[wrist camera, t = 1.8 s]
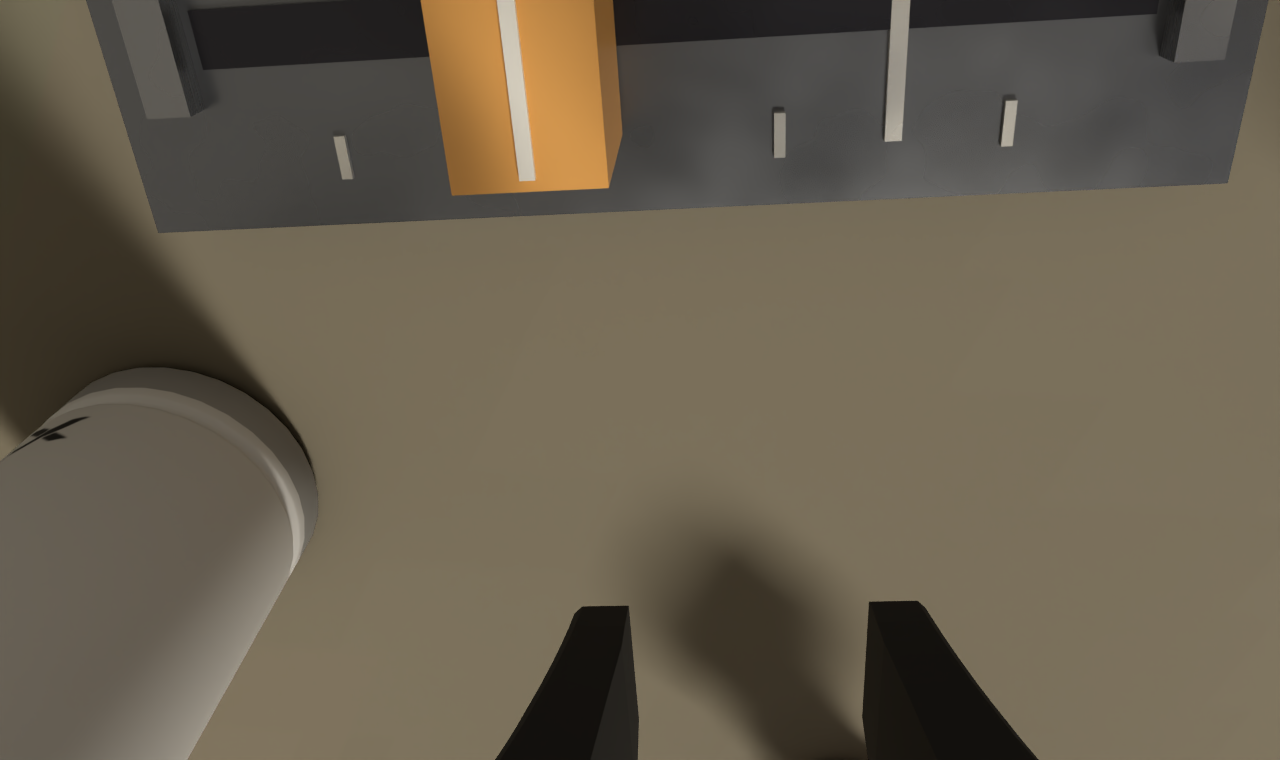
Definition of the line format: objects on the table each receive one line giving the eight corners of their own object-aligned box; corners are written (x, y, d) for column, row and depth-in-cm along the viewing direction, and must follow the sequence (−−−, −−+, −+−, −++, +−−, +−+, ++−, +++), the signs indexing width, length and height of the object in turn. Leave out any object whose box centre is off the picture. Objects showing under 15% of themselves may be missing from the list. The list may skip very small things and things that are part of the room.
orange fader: (604, -117, 16) (583, -109, 13) (622, 133, 18) (607, 189, 15) (456, -106, 16) (403, -96, 13) (490, 140, 18) (450, 197, 15)
